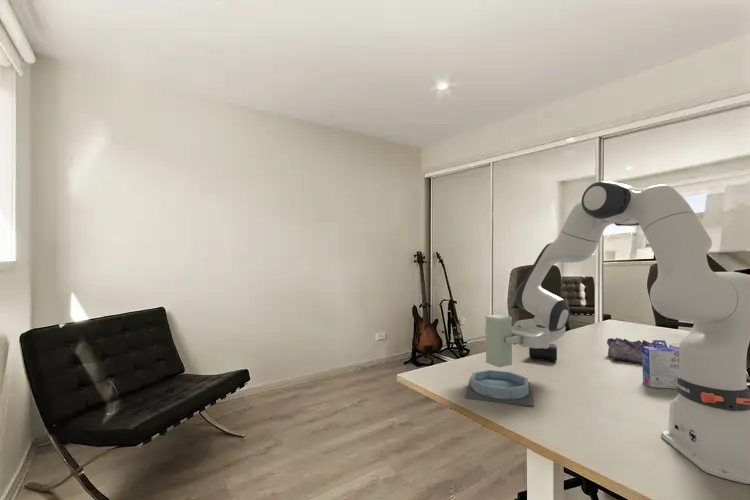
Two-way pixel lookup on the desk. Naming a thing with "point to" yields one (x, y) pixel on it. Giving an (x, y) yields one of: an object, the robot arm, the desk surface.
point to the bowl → (500, 384)
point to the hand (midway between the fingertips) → (496, 337)
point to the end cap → (544, 353)
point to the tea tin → (498, 340)
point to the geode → (627, 349)
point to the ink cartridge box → (660, 365)
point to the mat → (523, 401)
